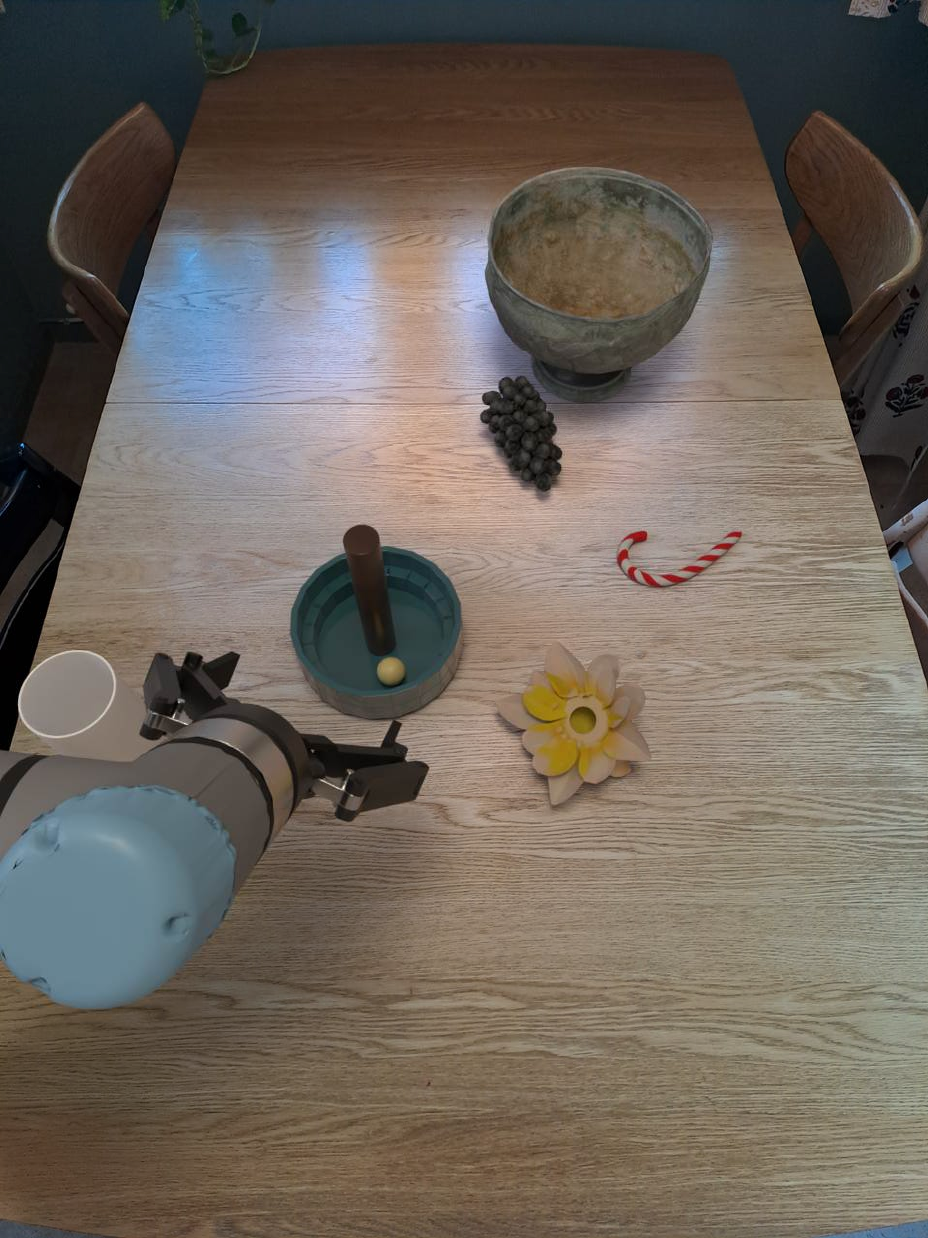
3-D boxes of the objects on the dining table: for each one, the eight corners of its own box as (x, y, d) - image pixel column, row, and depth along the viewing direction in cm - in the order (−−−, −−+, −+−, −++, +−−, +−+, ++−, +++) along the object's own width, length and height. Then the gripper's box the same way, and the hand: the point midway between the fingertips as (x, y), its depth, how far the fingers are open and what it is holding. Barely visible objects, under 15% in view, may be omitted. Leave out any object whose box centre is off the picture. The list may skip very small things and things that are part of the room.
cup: (187, 765, 85) (132, 704, 71) (111, 811, 82) (38, 757, 68) (153, 703, 88) (94, 633, 74) (79, 745, 86) (3, 681, 72)
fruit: (570, 451, 92) (528, 353, 99) (501, 481, 94) (464, 382, 100) (584, 489, 100) (544, 396, 107) (520, 517, 101) (485, 423, 108)
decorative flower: (477, 681, 87) (505, 636, 79) (570, 656, 91) (605, 612, 83) (533, 817, 81) (569, 785, 73) (629, 784, 86) (674, 751, 77)
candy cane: (757, 551, 95) (639, 593, 93) (753, 557, 96) (637, 599, 94) (722, 499, 99) (608, 539, 96) (719, 506, 100) (606, 545, 97)
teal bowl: (363, 753, 85) (356, 730, 80) (270, 636, 92) (257, 607, 86) (494, 656, 91) (496, 628, 85) (397, 551, 97) (392, 518, 91)
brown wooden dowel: (378, 661, 89) (356, 561, 72) (360, 641, 91) (335, 537, 73) (402, 644, 90) (386, 541, 73) (384, 624, 91) (365, 517, 74)
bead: (375, 682, 89) (384, 693, 86) (371, 656, 87) (380, 667, 85) (401, 675, 90) (411, 685, 87) (398, 649, 88) (407, 659, 86)
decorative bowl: (653, 466, 102) (689, 333, 85) (454, 417, 107) (451, 282, 89) (694, 326, 115) (732, 186, 98) (515, 288, 119) (522, 148, 102)
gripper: (-19, 757, 44) (145, 684, 65) (416, 940, 45) (439, 808, 66) (28, 628, 43) (179, 595, 65) (471, 815, 44) (477, 722, 65)
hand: (310, 702), depth 65 cm, fingers open, 13 cm apart
